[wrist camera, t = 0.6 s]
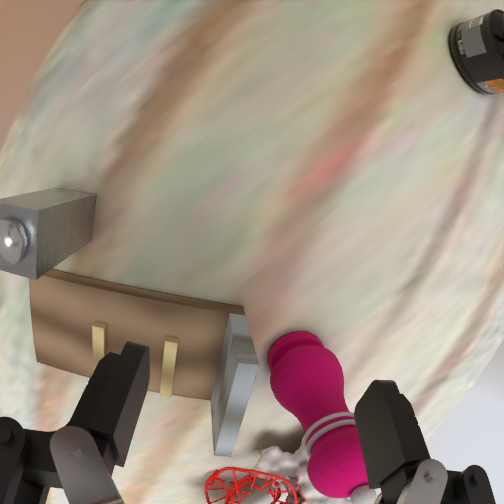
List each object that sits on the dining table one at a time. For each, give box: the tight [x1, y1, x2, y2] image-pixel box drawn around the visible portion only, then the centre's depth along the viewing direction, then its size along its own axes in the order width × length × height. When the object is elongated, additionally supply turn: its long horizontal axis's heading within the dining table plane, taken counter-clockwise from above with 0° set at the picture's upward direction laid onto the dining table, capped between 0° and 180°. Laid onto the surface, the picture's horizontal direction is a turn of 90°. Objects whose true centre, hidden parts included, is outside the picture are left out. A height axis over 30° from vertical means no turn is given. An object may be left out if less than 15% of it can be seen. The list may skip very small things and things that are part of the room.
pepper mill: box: [268, 332, 376, 504], centre depth 23 cm, size 7×7×20 cm
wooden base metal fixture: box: [29, 269, 259, 457], centre depth 25 cm, size 11×22×10 cm, turn 78°
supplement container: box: [450, 9, 504, 95], centre depth 21 cm, size 10×10×12 cm
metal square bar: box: [0, 188, 97, 280], centre depth 20 cm, size 4×4×12 cm
